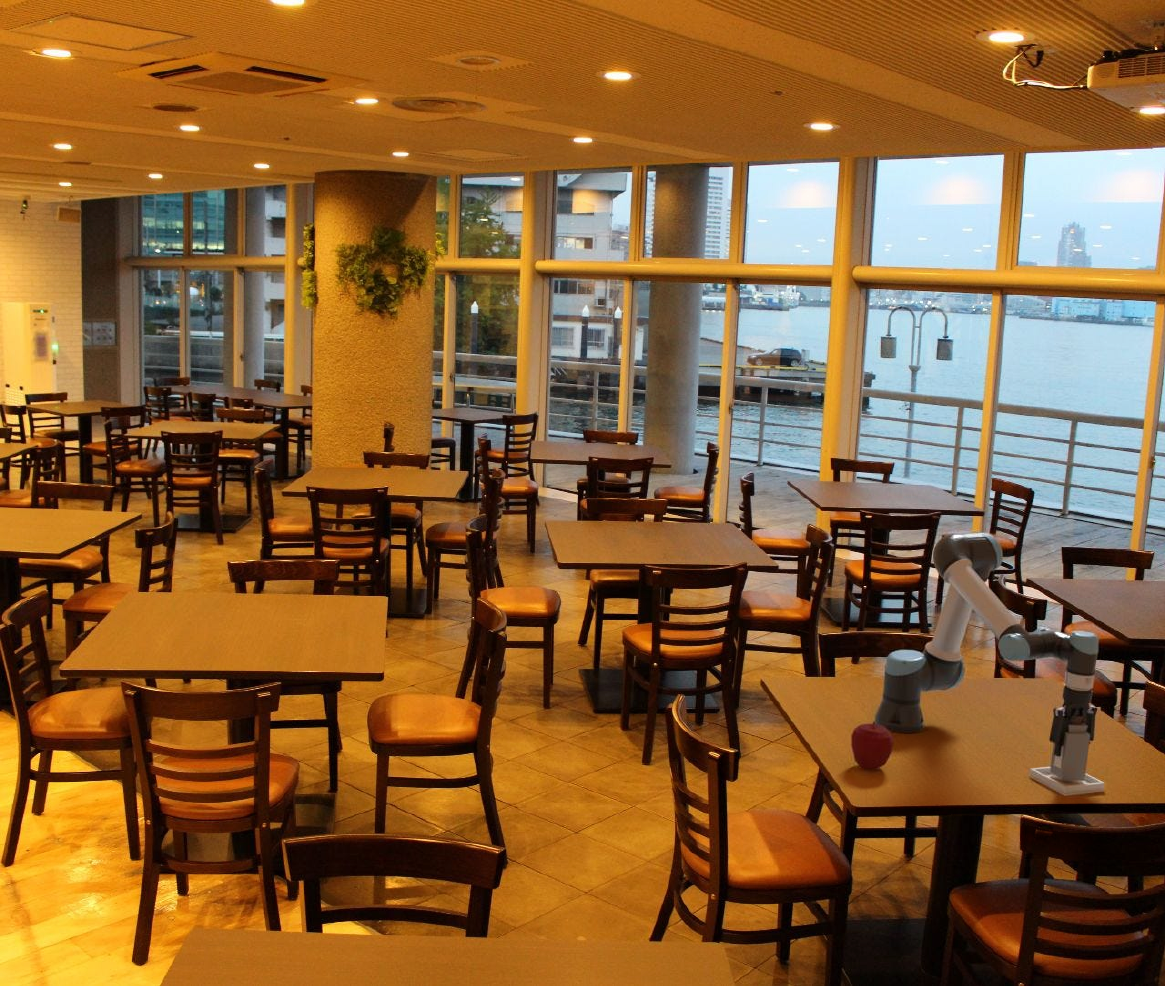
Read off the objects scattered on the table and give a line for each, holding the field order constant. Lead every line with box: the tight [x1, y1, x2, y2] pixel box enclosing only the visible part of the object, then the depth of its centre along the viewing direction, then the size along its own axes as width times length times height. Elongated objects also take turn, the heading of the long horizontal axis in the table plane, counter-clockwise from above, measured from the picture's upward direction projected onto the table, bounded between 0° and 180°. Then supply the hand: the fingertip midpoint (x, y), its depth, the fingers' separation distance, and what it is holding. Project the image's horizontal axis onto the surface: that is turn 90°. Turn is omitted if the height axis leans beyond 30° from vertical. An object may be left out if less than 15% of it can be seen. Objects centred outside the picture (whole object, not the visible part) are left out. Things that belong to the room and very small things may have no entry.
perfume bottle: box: [1050, 716, 1091, 781], centre depth 347 cm, size 7×7×18 cm
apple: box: [850, 722, 894, 771], centre depth 351 cm, size 12×12×13 cm
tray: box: [1029, 766, 1106, 796], centre depth 349 cm, size 14×14×2 cm
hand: (1068, 765), depth 348 cm, fingers closed on perfume bottle, 6 cm apart
